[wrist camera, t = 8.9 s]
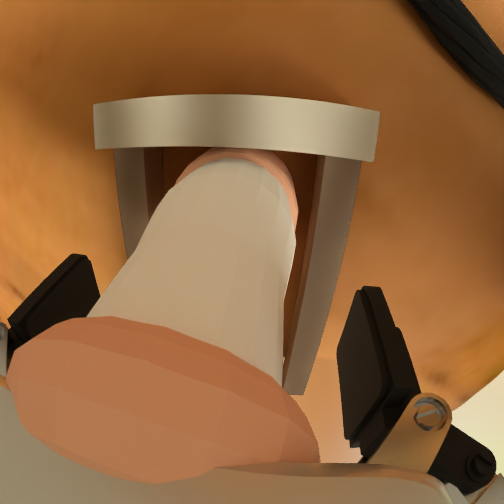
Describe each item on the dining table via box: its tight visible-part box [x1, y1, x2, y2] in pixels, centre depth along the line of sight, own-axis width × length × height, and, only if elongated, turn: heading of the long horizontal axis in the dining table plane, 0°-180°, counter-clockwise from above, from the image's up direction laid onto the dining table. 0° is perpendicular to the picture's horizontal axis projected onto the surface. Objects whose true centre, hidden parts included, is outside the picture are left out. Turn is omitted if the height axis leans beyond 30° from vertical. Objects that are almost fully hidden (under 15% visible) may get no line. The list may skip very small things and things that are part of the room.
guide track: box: [93, 94, 380, 395], centre depth 20 cm, size 14×24×5 cm, turn 177°
